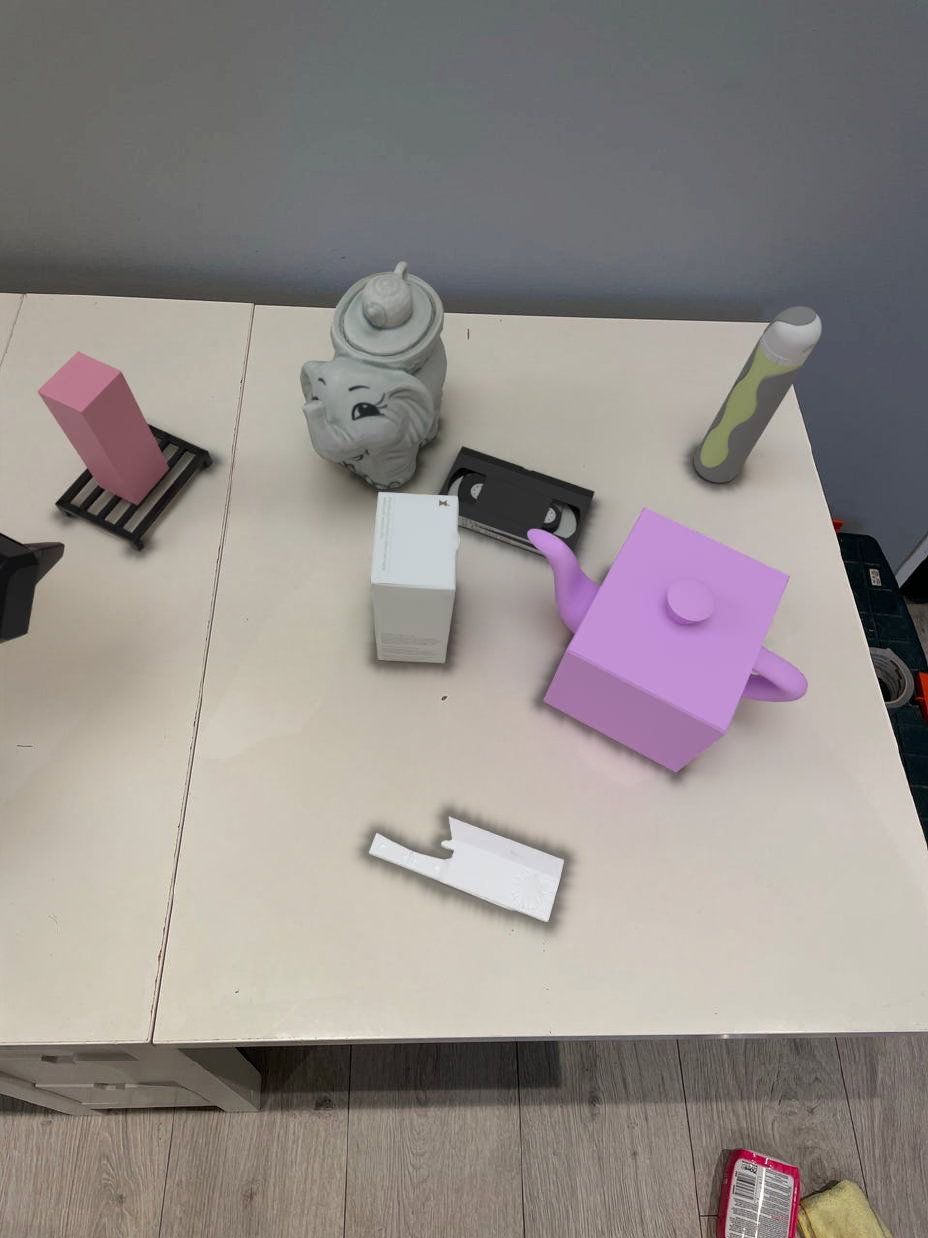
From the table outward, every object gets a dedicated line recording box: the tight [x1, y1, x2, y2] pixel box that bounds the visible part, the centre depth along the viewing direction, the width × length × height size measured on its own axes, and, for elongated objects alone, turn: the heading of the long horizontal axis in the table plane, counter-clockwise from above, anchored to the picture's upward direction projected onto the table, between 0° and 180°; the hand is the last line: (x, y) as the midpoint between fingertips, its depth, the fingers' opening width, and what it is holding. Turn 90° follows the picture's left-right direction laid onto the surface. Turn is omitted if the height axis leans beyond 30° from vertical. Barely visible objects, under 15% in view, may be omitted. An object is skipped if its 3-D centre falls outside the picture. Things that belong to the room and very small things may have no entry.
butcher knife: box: [368, 816, 565, 923], centre depth 59 cm, size 5×15×1 cm, turn 70°
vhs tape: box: [438, 445, 596, 557], centre depth 74 cm, size 14×8×2 cm, turn 69°
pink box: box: [36, 351, 169, 505], centre depth 66 cm, size 5×4×13 cm
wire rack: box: [54, 423, 213, 552], centre depth 72 cm, size 12×9×2 cm
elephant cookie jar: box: [299, 260, 448, 490], centre depth 68 cm, size 16×15×19 cm
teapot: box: [527, 506, 809, 774], centre depth 62 cm, size 15×25×14 cm, turn 61°
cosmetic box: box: [370, 491, 461, 664], centre depth 61 cm, size 8×7×16 cm
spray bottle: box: [693, 305, 823, 484], centre depth 69 cm, size 5×5×20 cm
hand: (12, 524), depth 55 cm, fingers open, 9 cm apart
